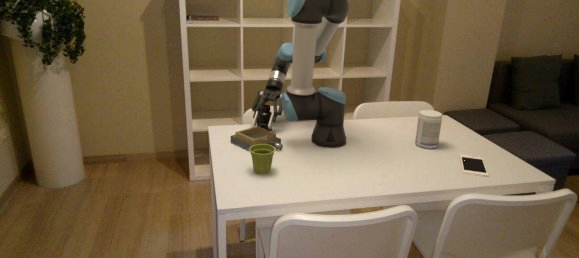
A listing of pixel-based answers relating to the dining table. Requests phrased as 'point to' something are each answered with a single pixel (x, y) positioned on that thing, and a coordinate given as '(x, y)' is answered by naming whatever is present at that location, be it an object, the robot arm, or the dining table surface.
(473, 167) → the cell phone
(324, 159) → the dining table surface
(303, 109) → the robot arm
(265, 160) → the plant pot
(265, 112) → the supplement bottle
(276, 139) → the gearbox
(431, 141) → the supplement tub
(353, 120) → the dining table surface
